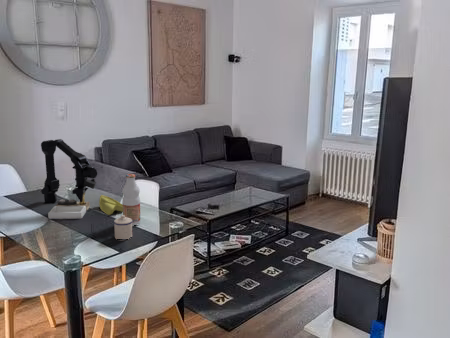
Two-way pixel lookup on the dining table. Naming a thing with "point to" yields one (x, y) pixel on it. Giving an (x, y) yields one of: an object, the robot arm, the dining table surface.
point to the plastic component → (109, 205)
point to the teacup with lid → (123, 227)
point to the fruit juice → (131, 200)
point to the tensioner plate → (72, 203)
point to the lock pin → (83, 200)
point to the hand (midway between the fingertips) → (82, 201)
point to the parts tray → (67, 212)
